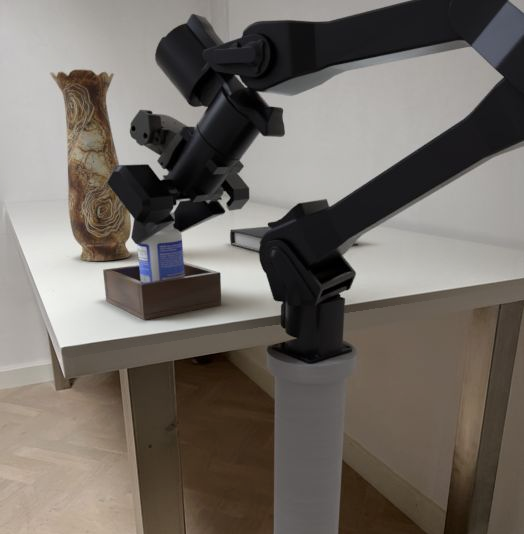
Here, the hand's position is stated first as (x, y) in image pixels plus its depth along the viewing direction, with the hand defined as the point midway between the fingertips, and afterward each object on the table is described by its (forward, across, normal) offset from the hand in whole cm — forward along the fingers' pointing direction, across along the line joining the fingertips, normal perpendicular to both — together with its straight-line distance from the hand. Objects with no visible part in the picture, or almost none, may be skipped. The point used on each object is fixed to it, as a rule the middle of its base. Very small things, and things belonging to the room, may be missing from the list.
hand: (151, 238), depth 68 cm
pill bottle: (+4, 0, +6) cm, 7 cm away
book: (+11, -48, +1) cm, 50 cm away
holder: (+5, 0, +6) cm, 8 cm away
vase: (+26, -18, -15) cm, 36 cm away
